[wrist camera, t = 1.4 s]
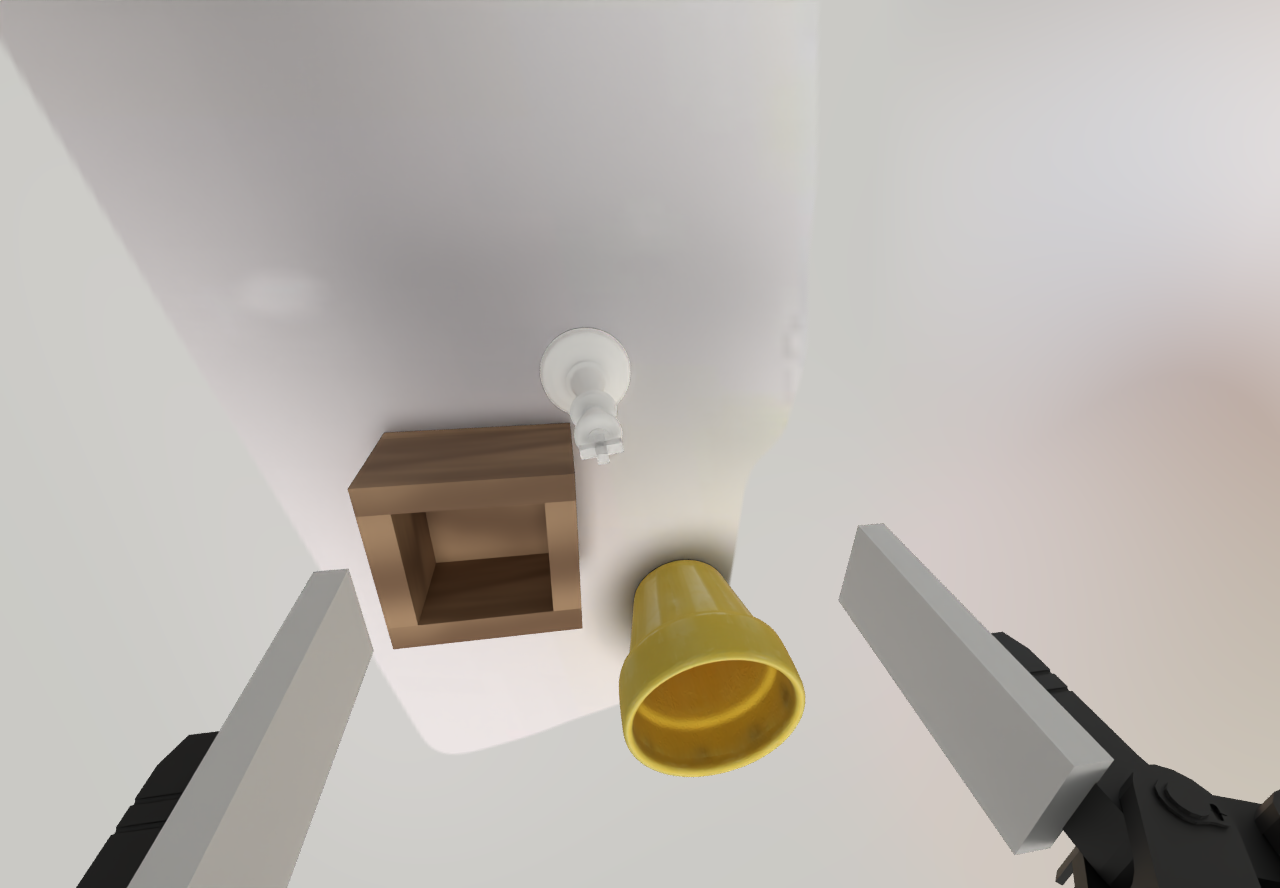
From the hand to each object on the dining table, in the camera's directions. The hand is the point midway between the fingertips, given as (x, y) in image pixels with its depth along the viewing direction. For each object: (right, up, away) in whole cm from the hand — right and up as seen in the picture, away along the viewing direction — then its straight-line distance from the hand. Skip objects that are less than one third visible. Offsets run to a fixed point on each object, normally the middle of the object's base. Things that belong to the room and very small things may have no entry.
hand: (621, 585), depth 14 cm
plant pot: (+3, -7, +23) cm, 25 cm away
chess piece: (-3, +8, +15) cm, 17 cm away
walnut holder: (-9, 0, +18) cm, 19 cm away
